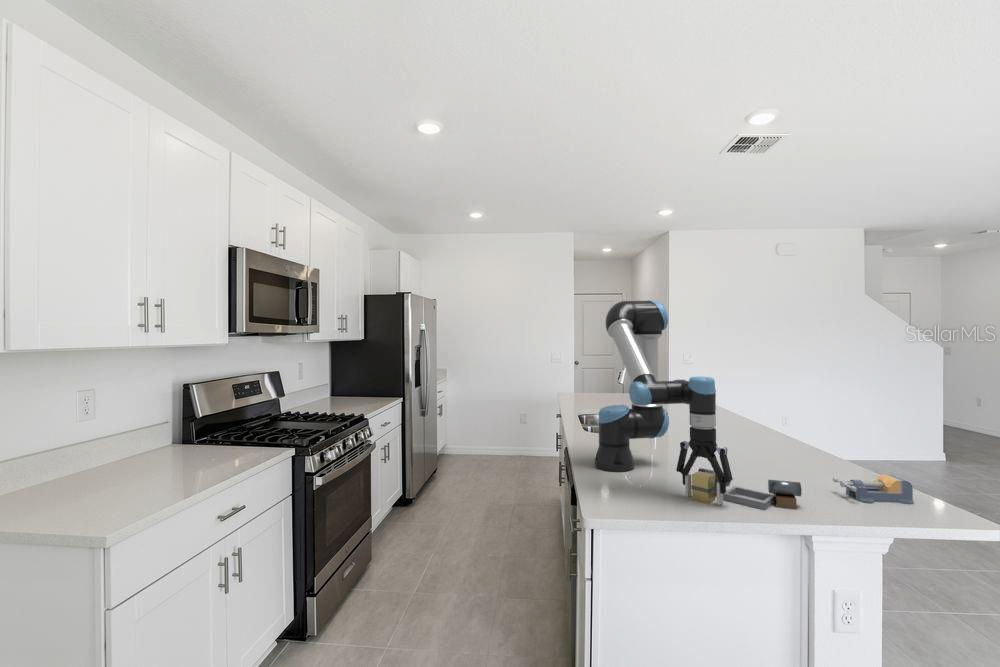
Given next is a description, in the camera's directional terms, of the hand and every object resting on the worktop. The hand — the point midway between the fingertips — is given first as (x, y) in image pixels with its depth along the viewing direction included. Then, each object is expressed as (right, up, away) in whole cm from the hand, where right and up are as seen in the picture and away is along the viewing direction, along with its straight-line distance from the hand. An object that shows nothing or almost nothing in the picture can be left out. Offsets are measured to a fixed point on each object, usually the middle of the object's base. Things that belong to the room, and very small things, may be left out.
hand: (703, 499), depth 143 cm
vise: (+52, 0, 0) cm, 52 cm away
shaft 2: (+22, 0, -5) cm, 23 cm away
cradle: (+13, 0, -1) cm, 13 cm away
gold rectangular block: (0, 0, 0) cm, 0 cm away
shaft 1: (+6, 0, +7) cm, 9 cm away
